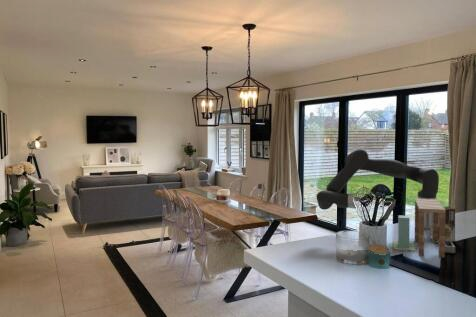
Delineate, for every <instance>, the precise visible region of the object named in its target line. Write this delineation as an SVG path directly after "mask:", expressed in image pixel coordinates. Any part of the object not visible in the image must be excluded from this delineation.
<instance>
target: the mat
mask: <svg viewBox="0 0 476 317" xmlns="http://www.w3.org/2000/svg"><path fill="white" fill-rule="evenodd" d="M392 244H393V246H392V247H393V250H398V251H399V250H401V251H408V250H411V252H416V248H415V245H414V242H410V241H409V247H399V246H398V240H397V241H395V240H393V241H392Z"/></svg>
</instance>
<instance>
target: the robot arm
mask: <svg viewBox="0 0 476 317" xmlns="http://www.w3.org/2000/svg"><path fill="white" fill-rule="evenodd" d="M345 163H346V165H345V166H343V168H342V169H341V170H340V171H339V172H338V173H337V174H336V175H335V176H334V177H332V179H331V180H330V182H329V183H328V184H327V186H326V188H325V189H326V190H325V189H324V190H321V191H318V192H317V193H316V200H317V205H318V207H319V209H321V210H323V211H325V210H329V209H330V208H332V206H333V205H336V206H337V207H338V208H341V209H343V208H344V209H346V208H347V209H348V208H349V209H356V207H355V205H354V202H353V195H354V194H355V193H356V192H353V193H351V192H350V193H341V192H342V190H343V189H344V188H345V187H346V185H347V183H348V182H349V181H350V180H351V179H352V177H353V176H354V175H355V174H356V173H357V172H358V171H359V170H360V171H361V170H362V171H367V172H372V173H376V174H379V175H384V176H388V177H391V178H396V179H407V180H410V181H413V182H415V183H419V184H421V185H422V186H421V189H420V190H418V192H417V199H435V200H437V194H438V192H439V182H440V179H439V178H440V177H439V173H438V171H437V170H435V169H433V168H427V167H417V166H412V165H411V166H410V165H407V164H406V163H404V162H402V161H399V160H395V159H391V158H369V154H368V153H367V151H366V150H364V149H363V148H362V149H361V148H360V149H359V148H358V149H355V150H354V151H352V152H350V153H348V155H347V156H346V158H345ZM385 198H386V199H385V201H384V207H390V206H389V205H390V204H391V202H392V200H393V199H394V197H385ZM394 200H395V199H394ZM384 207H382V206H380V207H379V208H384ZM356 210H357V209H356ZM424 230H431V212H424Z"/></svg>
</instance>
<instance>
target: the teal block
mask: <svg viewBox="0 0 476 317" xmlns="http://www.w3.org/2000/svg"><path fill="white" fill-rule="evenodd" d="M397 216H398V217H397V219H398V221H397V226H398V228H397V230H398V231H397V237H398V239H397V241H398V246H399V247H409V242H410V215H402V214H401V215H400V214H399V215H397Z"/></svg>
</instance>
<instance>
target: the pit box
mask: <svg viewBox="0 0 476 317" xmlns="http://www.w3.org/2000/svg"><path fill="white" fill-rule="evenodd" d="M453 242H454V241H445V254H453V255H454V254H456V245H455V244H454V243H453Z"/></svg>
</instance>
